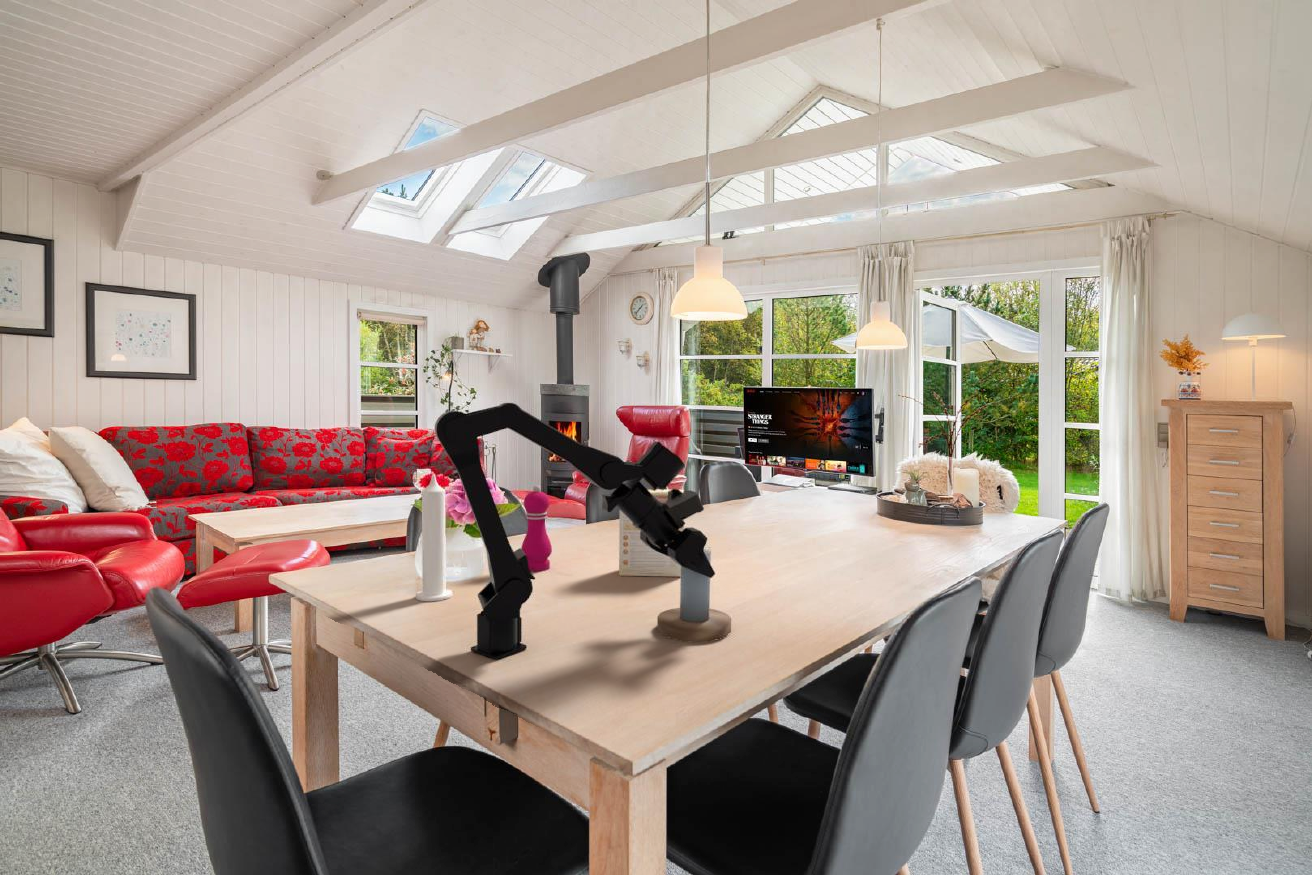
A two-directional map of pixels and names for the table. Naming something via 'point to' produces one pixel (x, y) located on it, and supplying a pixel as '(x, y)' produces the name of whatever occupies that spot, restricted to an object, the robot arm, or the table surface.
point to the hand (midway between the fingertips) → (702, 569)
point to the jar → (695, 593)
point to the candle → (433, 544)
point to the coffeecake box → (643, 549)
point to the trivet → (694, 626)
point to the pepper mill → (537, 531)
